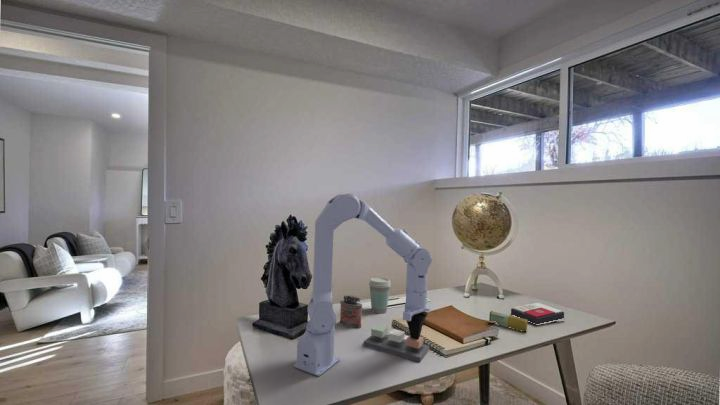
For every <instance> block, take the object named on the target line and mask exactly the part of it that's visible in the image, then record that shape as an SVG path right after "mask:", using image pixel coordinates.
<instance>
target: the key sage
mask: <svg viewBox="0 0 720 405" xmlns="http://www.w3.org/2000/svg"><path fill="white" fill-rule="evenodd" d="M388 329H389V328H388V326H383V325H380V324H376V325H374V326H373V327H372V328H371V330H370V336H371V335H374V336H377V337H381V338H383V337H384V336H385V335H386V334H387V335H388Z"/></svg>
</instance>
